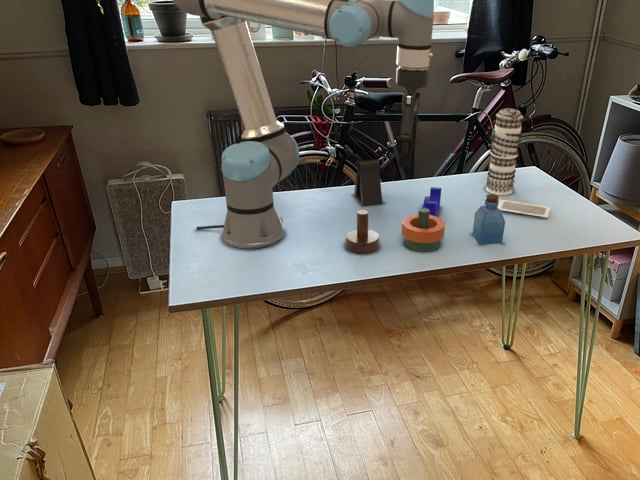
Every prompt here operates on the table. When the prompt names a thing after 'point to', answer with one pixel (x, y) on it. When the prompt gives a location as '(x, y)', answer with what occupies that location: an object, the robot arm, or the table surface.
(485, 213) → the perfume bottle
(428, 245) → the sage peg
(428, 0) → the robot arm
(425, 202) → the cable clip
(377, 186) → the phone stand
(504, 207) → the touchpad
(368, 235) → the walnut peg
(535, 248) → the table surface
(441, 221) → the ring
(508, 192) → the decorative candle
